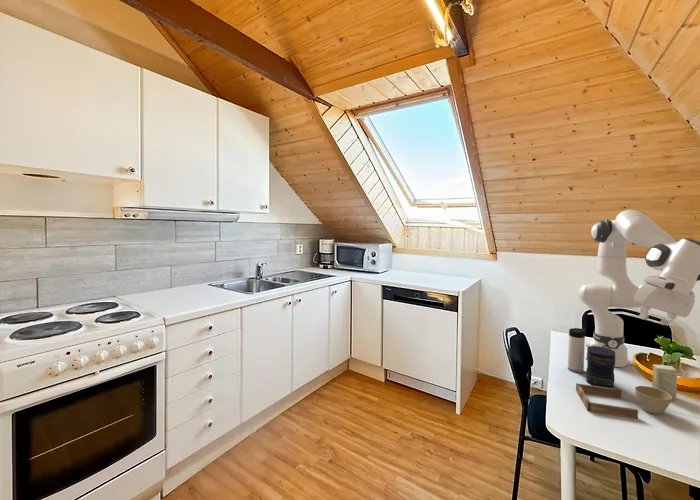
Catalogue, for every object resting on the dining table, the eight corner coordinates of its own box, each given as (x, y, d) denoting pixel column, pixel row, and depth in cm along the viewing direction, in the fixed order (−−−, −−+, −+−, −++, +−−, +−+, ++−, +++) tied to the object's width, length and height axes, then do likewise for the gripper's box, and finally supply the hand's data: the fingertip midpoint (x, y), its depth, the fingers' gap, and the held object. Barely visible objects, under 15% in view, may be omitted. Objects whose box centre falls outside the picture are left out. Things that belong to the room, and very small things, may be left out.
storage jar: (582, 376, 148) (584, 338, 147) (608, 379, 145) (610, 340, 144) (590, 387, 139) (592, 346, 138) (618, 390, 136) (620, 348, 134)
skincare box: (671, 395, 132) (673, 365, 131) (676, 400, 128) (678, 370, 127) (650, 392, 134) (652, 363, 133) (655, 397, 130) (656, 367, 129)
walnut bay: (575, 390, 137) (576, 383, 137) (620, 396, 131) (620, 389, 131) (587, 410, 122) (587, 402, 122) (637, 418, 117) (638, 410, 116)
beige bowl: (674, 421, 114) (675, 402, 114) (637, 413, 120) (637, 394, 119) (666, 407, 123) (667, 389, 122) (631, 400, 128) (632, 383, 128)
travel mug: (587, 373, 152) (588, 331, 150) (571, 372, 153) (572, 330, 151) (580, 367, 158) (582, 327, 156) (565, 366, 159) (566, 326, 158)
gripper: (686, 289, 115) (666, 323, 118) (641, 275, 111) (621, 311, 114) (707, 296, 109) (685, 332, 112) (660, 281, 105) (639, 319, 108)
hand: (653, 321), depth 113 cm, fingers open, 8 cm apart
